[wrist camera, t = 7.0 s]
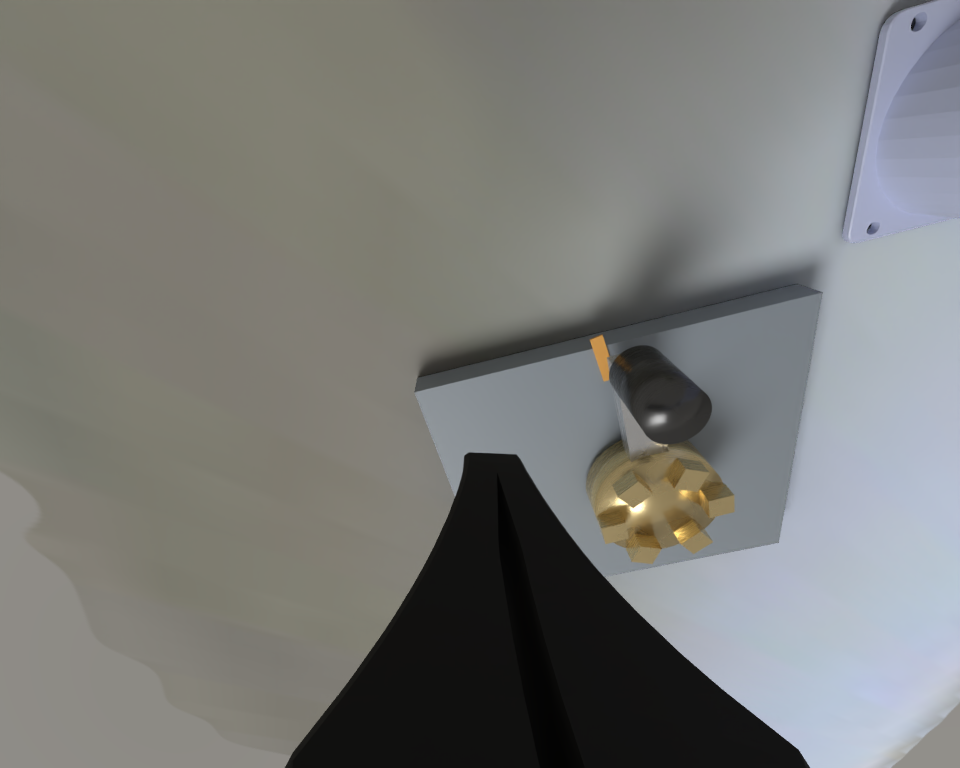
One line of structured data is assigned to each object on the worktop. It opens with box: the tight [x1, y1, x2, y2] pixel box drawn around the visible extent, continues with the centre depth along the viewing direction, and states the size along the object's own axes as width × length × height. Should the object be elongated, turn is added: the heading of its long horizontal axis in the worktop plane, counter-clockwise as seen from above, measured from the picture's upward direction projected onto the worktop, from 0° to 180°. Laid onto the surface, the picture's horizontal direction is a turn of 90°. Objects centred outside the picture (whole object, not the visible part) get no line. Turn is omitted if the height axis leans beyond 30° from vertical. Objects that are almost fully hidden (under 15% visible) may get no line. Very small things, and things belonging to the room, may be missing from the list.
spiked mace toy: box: [586, 345, 735, 564], centre depth 18 cm, size 12×6×5 cm, turn 18°
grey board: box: [415, 284, 823, 577], centre depth 23 cm, size 19×18×2 cm
